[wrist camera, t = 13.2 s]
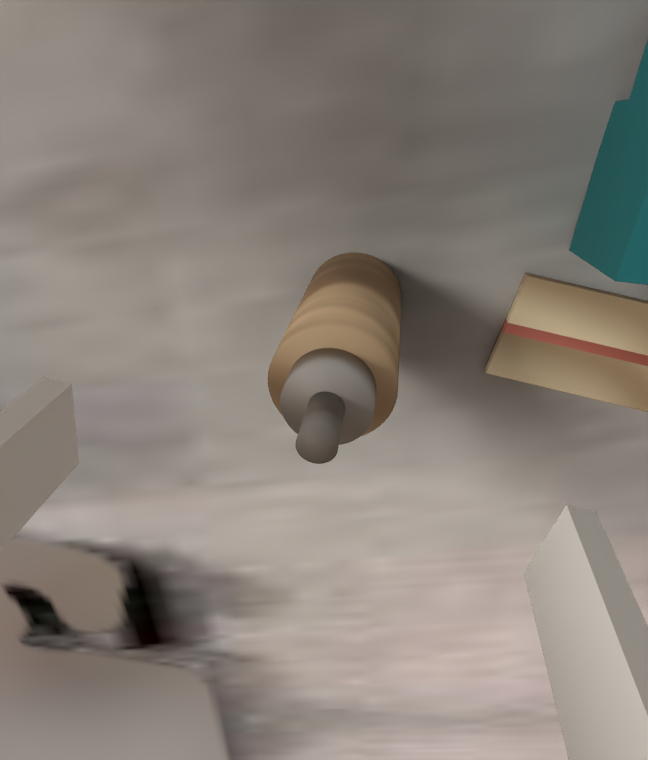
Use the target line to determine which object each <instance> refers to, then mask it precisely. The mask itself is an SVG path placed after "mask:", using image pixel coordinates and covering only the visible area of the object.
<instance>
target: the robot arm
mask: <svg viewBox="0 0 648 760" xmlns="http://www.w3.org/2000/svg"><path fill="white" fill-rule="evenodd" d="M78 463H79V459H78V448H77V437H76V427H75V416H74V405H73V394H72V384H70V383H66V382H61V381H57V380H53V379H49V378H45V377H43V378H42V379H41V380H39V381H38V382H37V383H35V384H34V385H33V386H32V387H30V388H29V389H28V390H27V391H25V392H24V393H23V394H22V395H20V396H19V397H18V398H16V399H15V400H14V401H13V402H11V403H10V404H9V405H8V406H6V407H5V408H4V409H3V410H1V411H0V552H1V551H2V549H4V548H5V546H6V545H7V544H8V543H9V542H10V541H11V540H12V538H13V537H14V536H15V535H16V534H17V533H18V532H19V530H20V529H21V528H22V527H23V526H24V525H25V524H26V522H27V521H28V520H29V519H30V518H31V517H32V516H33V515H34V513H35V512H36V511H37V510H38V509H39V508H40V507H41V505H42V504H43V503H44V502H45V501H46V500H47V499H48V497H49V496H50V495H51V494H52V493H53V492H54V491H55V490H56V488H57V487H58V486H59V485H60V484H61V483H62V482H63V480H64V479H65V478H66V477H67V476H68V475H69V474H70V472H71V471H72V470H73V469H74V468H75V467H76V466H77V465H78ZM524 576H525V580H526V584H527V588H528V592H529V597H530V601H531V605H532V609H533V613H534V617H535V622H536V626H537V630H538V634H539V638H540V642H541V647H542V651H543V655H544V659H545V663H546V667H547V671H548V676H549V680H550V684H551V688H552V692H553V696H554V701H555V705H556V709H557V713H558V717H559V721H560V726H561V730H562V734H563V738H564V742H565V746H566V750H567V755H568V759H569V760H648V626H647V624H646V622H645V619H644V617H643V615H642V613H641V611H640V608H639V606H638V604H637V602H636V599H635V597H634V595H633V593H632V590H631V588H630V586H629V584H628V581H627V579H626V577H625V575H624V573H623V570H622V568H621V566H620V564H619V561H618V559H617V557H616V555H615V552H614V550H613V548H612V546H611V543H610V541H609V539H608V537H607V534H606V532H605V530H604V528H603V526H602V523H601V521H600V519H599V517H598V514H597V512H596V511H591V510H587V509H583V508H579V507H575V506H571V505H566V506H565V508H564V509H563V511H562V513H561V514H560V516H559V517H558V519H557V521H556V522H555V524H554V526H553V527H552V529H551V530H550V532H549V534H548V535H547V537H546V538H545V540H544V542H543V543H542V545H541V546H540V548H539V550H538V551H537V553H536V555H535V556H534V558H533V559H532V561H531V563H530V564H529V566H528V567H527V569H526V571H525V572H524Z"/></svg>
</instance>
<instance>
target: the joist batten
mask: <svg viewBox="0 0 648 760" xmlns="http://www.w3.org/2000/svg"><path fill="white" fill-rule="evenodd" d="M485 371H486V373H487V374H491V375H495V376H499V377H504V378H508V379H512V380H516V381H520V382H525V383H529V384H533V385H537V386H541V387H546V388H550V389H554V390H558V391H562V392H567V393H571V394H575V395H579V396H584V397H588V398H592V399H596V400H600V401H605V402H609V403H613V404H617V405H621V406H626V407H630V408H634V409H638V410H642V411H647V412H648V301H645V300H640V299H636V298H632V297H627V296H623V295H619V294H614V293H610V292H606V291H601V290H597V289H593V288H588V287H584V286H580V285H575V284H571V283H567V282H562V281H558V280H554V279H550V278H545V277H541V276H537V275H532V274H528V273H525V276H524V278H523V281H522V283H521V285H520V288H519V290H518V292H517V295H516V297H515V299H514V302H513V304H512V306H511V309H510V311H509V314H508V316H507V318H506V321H505V323H504V325H503V328H502V330H501V332H500V335H499V337H498V340H497V342H496V344H495V347H494V349H493V351H492V354H491V356H490V358H489V361H488V363H487V366H486V368H485Z"/></svg>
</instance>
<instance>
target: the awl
mask: <svg viewBox="0 0 648 760" xmlns="http://www.w3.org/2000/svg"><path fill="white" fill-rule="evenodd" d="M401 302H402V296H401V289H400V285H399V282H398V280H397V278H396V276H395V274H394V273H393V272H392V270H391V269H390V268H389V267H388V266H387V265H386V264H384V263H383V262H382V261H380V260H379V259H377V258H375V257H373V256H370V255H367V254H362V253H346V254H341V255H338V256H335V257H333V258H331V259H329V260H328V261H326V262H325V263H324V264H323V265H322V266H321V267H320V268H319V269H318V270H317V271H316V273H315V274H314V276H313V278H312V280H311V282H310V284H309V286H308V288H307V290H306V292H305V294H304V296H303V298H302V300H301V302H300V304H299V306H298V308H297V310H296V312H295V314H294V316H293V318H292V320H291V322H290V324H289V326H288V328H287V331H286V333H285V335H284V337H283V339H282V341H281V343H280V345H279V347H278V349H277V351H276V353H275V355H274V357H273V359H272V361H271V364H270V367H269V372H268V387H269V392H270V395H271V398H272V400H273V402H274V404H275V406H276V408H277V409H278V410H279V412H280V413H281V414H282V415H283V417H284V419H285V420H286V422H287V423H288V425H289V426H290V427H291V428H292V429H293V430H294V431H295V432H296V433H297V434H298V436H297V440H296V450H297V452H298V453H299V455H300V456H301V457H302V458H304V459H305V460H307V461H309V462H312V463H318V464H321V463H326V462H329V461H331V460H332V459H333V458H334V457H335V456H336V454H337V450H338V445H340V444H345V443H348V442H351V441H353V440H355V439H357V438H358V437H360V436H363V435H365V434H367V433H369V432H371V431H373V430H375V429H376V428H377V427H379V426H380V425H381V424H382V423H383V422H384V421H385V420H386V419H387V418H388V417H389V415H390V414H391V412H392V410H393V408H394V406H395V403H396V399H397V393H398V373H399V349H400V325H401Z"/></svg>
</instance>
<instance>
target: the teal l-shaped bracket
mask: <svg viewBox="0 0 648 760" xmlns="http://www.w3.org/2000/svg"><path fill="white" fill-rule="evenodd" d="M569 250H570V251H571V252H573V253H574V254H576V255H577V256H579V257H580V258H582V259H583V260H585V261H586V262H588V263H589V264H591V265H592V266H594V267H595V268H597V269H598V270H600V271H601V272H603V273H604V274H606V275H607V276H608V277H610V278H611V279H613V280H614V281H620V282H628V283H637V284H646V285H648V41H647V44H646V47H645V50H644V54H643V57H642V60H641V63H640V66H639V70H638V73H637V76H636V79H635V83H634V86H633V89H632V92H631V95H630V99H628V100H622V101H617V102H615V104H614V107H613V110H612V113H611V116H610V119H609V122H608V125H607V128H606V131H605V134H604V137H603V140H602V143H601V146H600V149H599V152H598V155H597V159H596V162H595V165H594V169H593V172H592V175H591V179H590V182H589V185H588V189H587V192H586V195H585V199H584V202H583V206H582V209H581V212H580V216H579V219H578V222H577V226H576V229H575V232H574V236H573V239H572V242H571V246H570V249H569Z"/></svg>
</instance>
